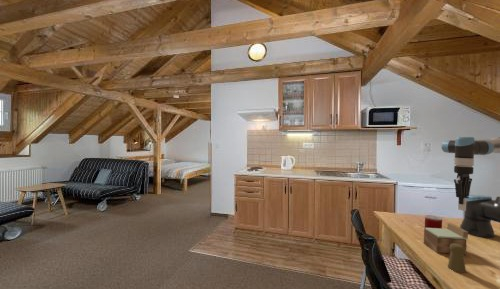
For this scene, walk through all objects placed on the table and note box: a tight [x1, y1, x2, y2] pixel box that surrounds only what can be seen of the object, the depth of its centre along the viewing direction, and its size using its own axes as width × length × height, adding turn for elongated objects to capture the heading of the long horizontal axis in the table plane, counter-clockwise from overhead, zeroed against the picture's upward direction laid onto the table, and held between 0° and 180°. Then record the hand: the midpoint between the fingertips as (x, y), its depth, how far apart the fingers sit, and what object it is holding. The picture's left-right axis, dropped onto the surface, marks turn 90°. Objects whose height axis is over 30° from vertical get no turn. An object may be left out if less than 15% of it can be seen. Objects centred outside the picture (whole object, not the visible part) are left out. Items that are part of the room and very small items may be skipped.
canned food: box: [424, 214, 443, 230], centre depth 138 cm, size 8×8×11 cm
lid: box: [424, 222, 469, 240], centre depth 121 cm, size 13×11×4 cm
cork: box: [447, 243, 467, 274], centre depth 102 cm, size 6×6×11 cm
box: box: [423, 229, 467, 256], centre depth 121 cm, size 13×11×8 cm
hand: (462, 209), depth 124 cm, fingers closed
